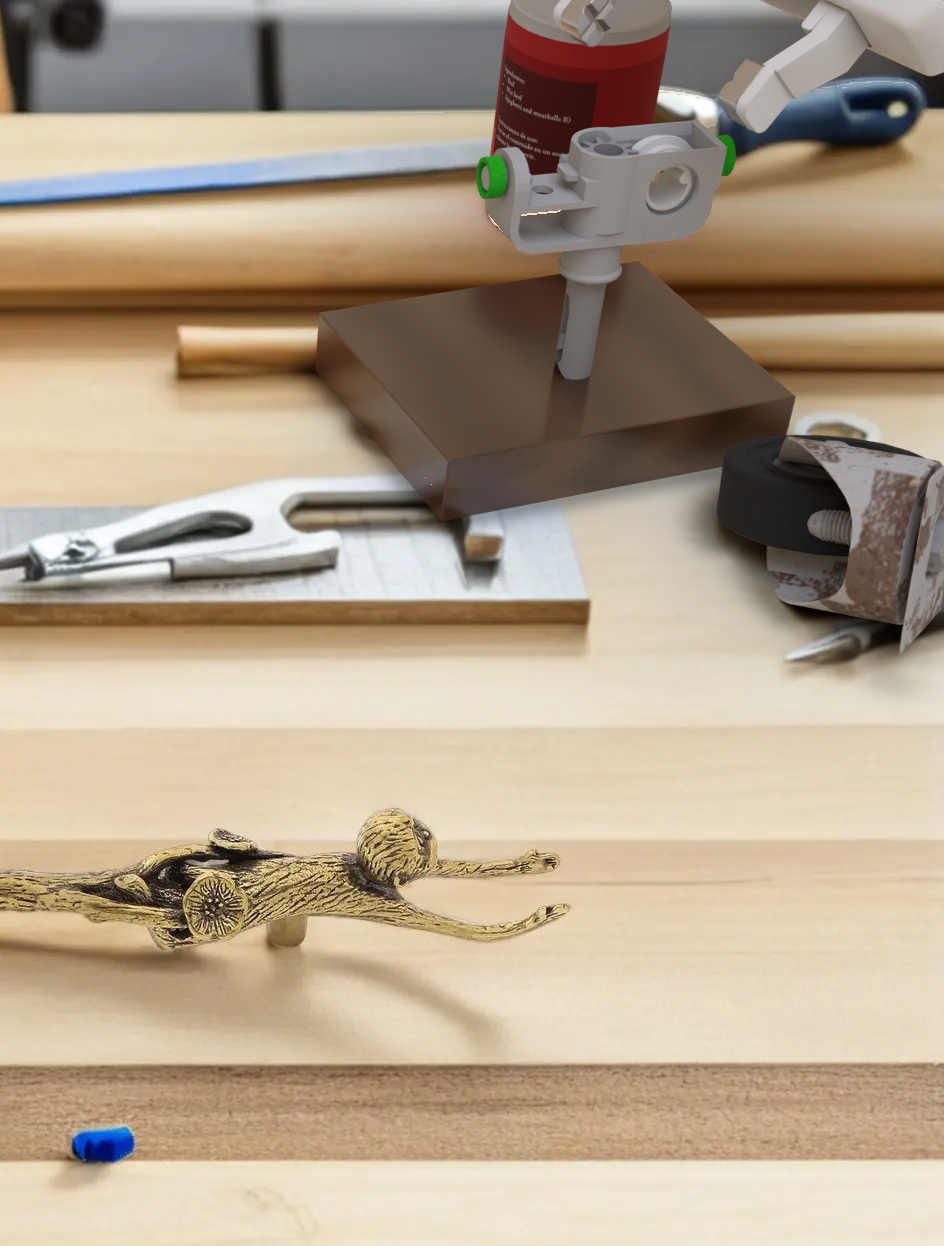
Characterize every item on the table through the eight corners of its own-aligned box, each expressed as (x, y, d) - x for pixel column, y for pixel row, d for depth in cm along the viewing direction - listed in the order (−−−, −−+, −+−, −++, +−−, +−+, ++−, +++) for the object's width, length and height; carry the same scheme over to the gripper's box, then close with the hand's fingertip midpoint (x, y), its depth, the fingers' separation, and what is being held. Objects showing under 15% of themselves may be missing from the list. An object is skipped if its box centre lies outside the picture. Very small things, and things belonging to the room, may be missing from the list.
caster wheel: (749, 528, 89) (992, 572, 84) (651, 605, 80) (915, 659, 75) (770, 373, 86) (1023, 409, 81) (670, 436, 78) (946, 480, 73)
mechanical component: (445, 365, 88) (473, 137, 82) (670, 340, 90) (715, 115, 83) (470, 400, 86) (500, 169, 79) (700, 374, 88) (748, 146, 81)
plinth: (628, 319, 98) (638, 260, 96) (781, 458, 89) (797, 396, 87) (313, 372, 94) (318, 312, 92) (440, 525, 84) (448, 461, 82)
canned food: (628, 188, 109) (666, -26, 101) (641, 258, 102) (681, 35, 95) (480, 180, 109) (507, -34, 102) (484, 250, 103) (512, 27, 96)
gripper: (671, -357, 82) (444, -58, 84) (1095, -226, 68) (811, 124, 71) (733, -248, 86) (516, 32, 89) (1141, -106, 73) (873, 218, 76)
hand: (650, 74), depth 80 cm, fingers open, 8 cm apart
